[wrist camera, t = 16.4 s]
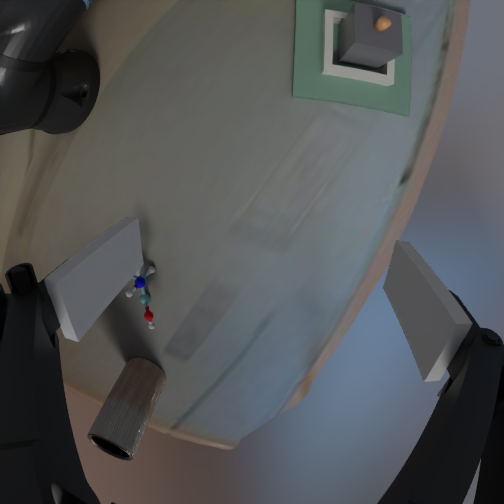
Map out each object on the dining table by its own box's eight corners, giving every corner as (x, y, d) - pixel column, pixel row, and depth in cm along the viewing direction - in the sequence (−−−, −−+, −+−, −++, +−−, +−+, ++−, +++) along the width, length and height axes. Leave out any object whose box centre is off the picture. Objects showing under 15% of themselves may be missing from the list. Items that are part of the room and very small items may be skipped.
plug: (337, 62, 29) (359, 37, 18) (338, 29, 27) (358, -6, 16) (374, 69, 29) (410, 50, 18) (374, 37, 26) (408, 8, 16)
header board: (292, 97, 33) (293, 94, 30) (296, -3, 26) (297, -15, 23) (405, 116, 32) (416, 116, 28) (405, 18, 25) (416, 11, 22)
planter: (145, 386, 63) (112, 458, 43) (120, 359, 60) (78, 432, 39) (174, 382, 60) (142, 463, 40) (148, 353, 57) (105, 436, 37)
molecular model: (96, 287, 46) (92, 307, 38) (120, 243, 47) (120, 254, 38) (148, 315, 52) (155, 339, 43) (173, 274, 52) (184, 290, 44)
